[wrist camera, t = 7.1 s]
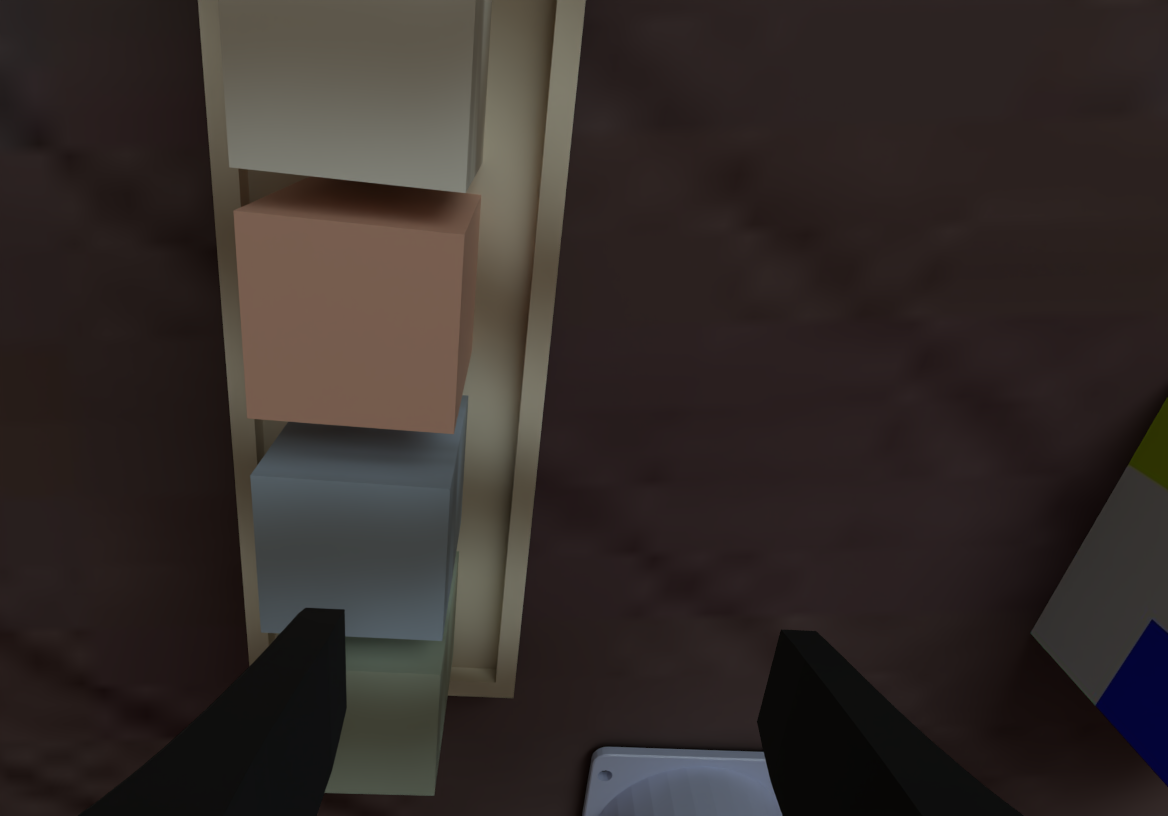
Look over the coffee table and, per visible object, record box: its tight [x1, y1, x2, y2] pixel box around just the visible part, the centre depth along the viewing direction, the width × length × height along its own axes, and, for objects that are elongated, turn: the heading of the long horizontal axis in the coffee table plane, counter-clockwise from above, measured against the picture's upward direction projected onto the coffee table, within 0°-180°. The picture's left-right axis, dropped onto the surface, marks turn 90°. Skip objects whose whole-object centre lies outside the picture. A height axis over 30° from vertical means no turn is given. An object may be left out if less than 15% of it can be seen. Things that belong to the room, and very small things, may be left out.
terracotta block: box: [233, 176, 481, 434], centre depth 16 cm, size 4×4×5 cm
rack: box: [198, 0, 586, 796], centre depth 17 cm, size 26×8×6 cm, turn 173°
